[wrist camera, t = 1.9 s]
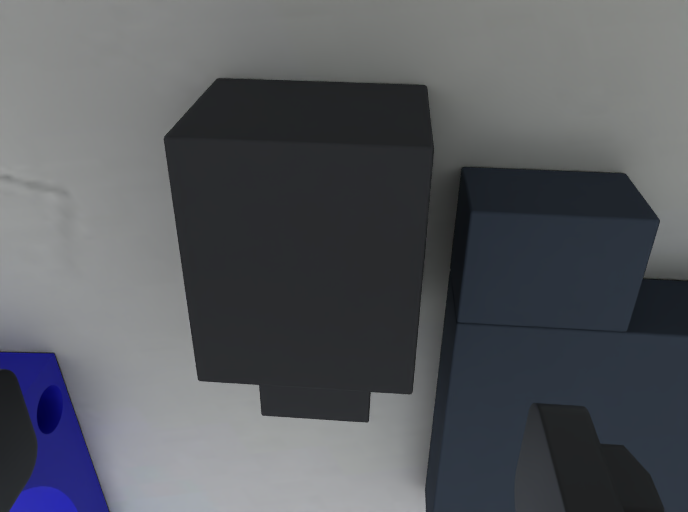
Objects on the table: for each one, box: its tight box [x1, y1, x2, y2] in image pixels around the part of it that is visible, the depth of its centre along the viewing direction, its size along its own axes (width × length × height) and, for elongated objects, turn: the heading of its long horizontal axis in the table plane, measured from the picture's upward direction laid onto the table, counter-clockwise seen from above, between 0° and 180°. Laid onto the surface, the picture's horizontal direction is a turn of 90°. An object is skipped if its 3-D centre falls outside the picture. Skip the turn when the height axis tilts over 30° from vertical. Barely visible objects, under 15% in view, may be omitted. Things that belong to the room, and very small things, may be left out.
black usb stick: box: [164, 78, 434, 422], centre depth 16 cm, size 9×5×4 cm, turn 0°
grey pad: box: [425, 167, 688, 512], centre depth 17 cm, size 12×12×2 cm
